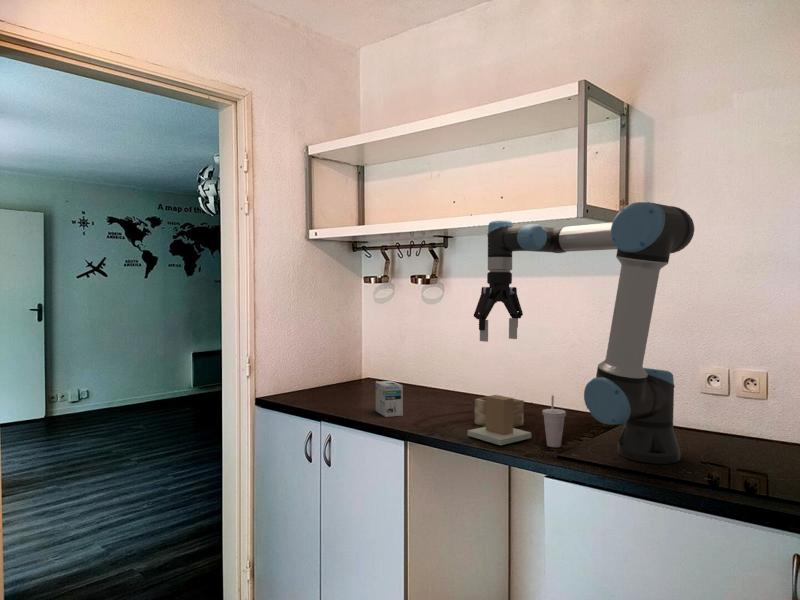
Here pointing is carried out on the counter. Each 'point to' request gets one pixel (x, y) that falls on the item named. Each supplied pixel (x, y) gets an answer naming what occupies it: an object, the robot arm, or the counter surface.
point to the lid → (499, 423)
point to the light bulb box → (389, 398)
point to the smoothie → (554, 425)
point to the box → (481, 411)
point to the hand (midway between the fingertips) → (498, 340)
